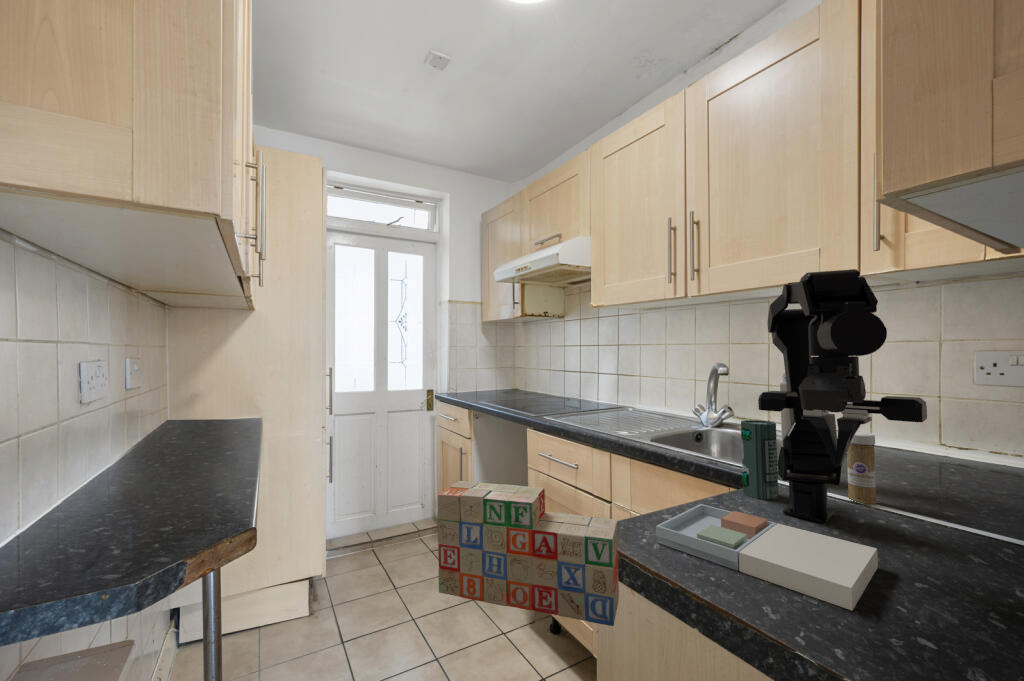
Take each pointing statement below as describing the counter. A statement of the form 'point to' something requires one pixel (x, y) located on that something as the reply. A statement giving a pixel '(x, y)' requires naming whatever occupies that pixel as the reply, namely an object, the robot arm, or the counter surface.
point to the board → (811, 564)
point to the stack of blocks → (526, 552)
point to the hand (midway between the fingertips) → (837, 465)
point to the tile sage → (723, 536)
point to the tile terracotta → (744, 523)
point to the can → (759, 459)
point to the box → (684, 538)
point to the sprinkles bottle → (862, 468)
